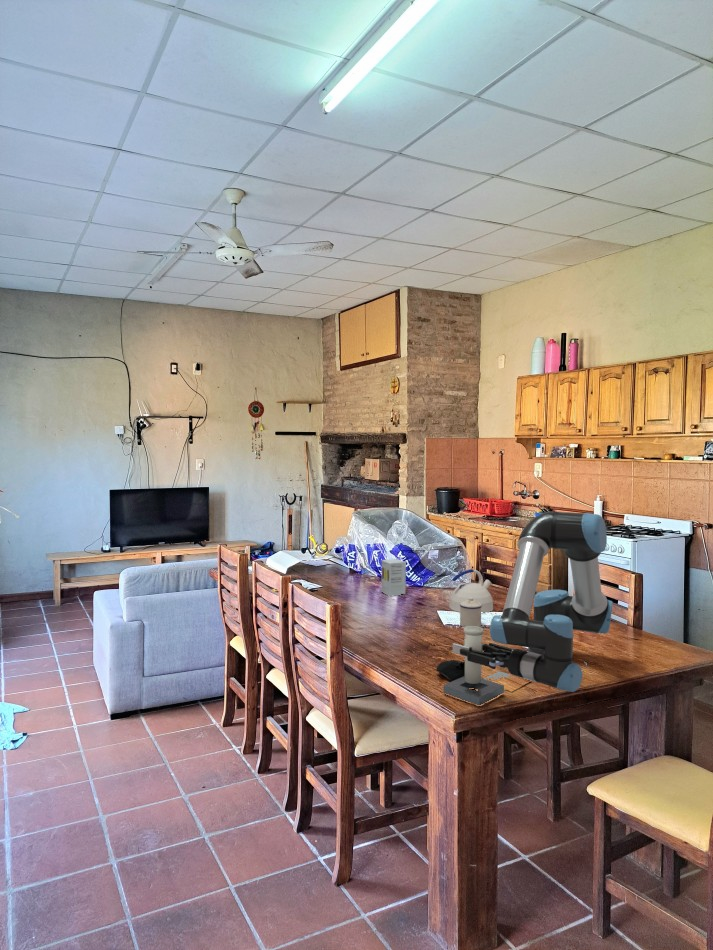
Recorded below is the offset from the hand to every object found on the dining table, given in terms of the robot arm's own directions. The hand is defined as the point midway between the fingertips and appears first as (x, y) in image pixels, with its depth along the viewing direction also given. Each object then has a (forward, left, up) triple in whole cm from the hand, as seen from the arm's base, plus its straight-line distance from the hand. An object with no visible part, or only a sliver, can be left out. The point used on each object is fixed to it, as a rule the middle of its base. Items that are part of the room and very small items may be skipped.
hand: (459, 645), depth 199 cm
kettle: (-84, -55, -15) cm, 102 cm away
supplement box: (-78, -98, -14) cm, 126 cm away
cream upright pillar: (0, +5, -10) cm, 11 cm away
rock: (-8, -8, -15) cm, 18 cm away
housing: (0, +5, -14) cm, 15 cm away
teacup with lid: (-61, -40, -14) cm, 75 cm away
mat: (-16, +6, -14) cm, 23 cm away
